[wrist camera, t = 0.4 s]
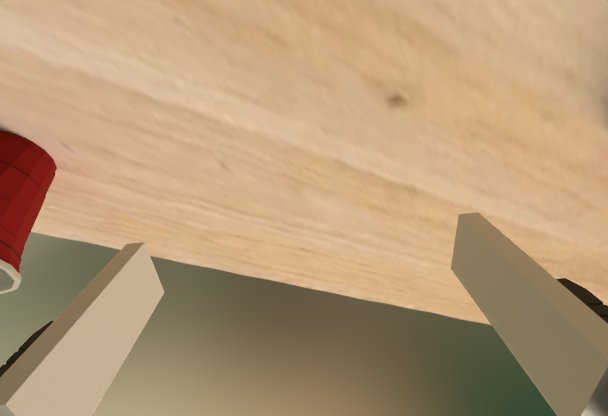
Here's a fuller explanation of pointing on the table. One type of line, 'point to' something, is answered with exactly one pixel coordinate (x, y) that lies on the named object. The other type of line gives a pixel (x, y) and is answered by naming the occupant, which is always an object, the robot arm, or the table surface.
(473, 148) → the table surface
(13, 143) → the plastic cup
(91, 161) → the table surface
